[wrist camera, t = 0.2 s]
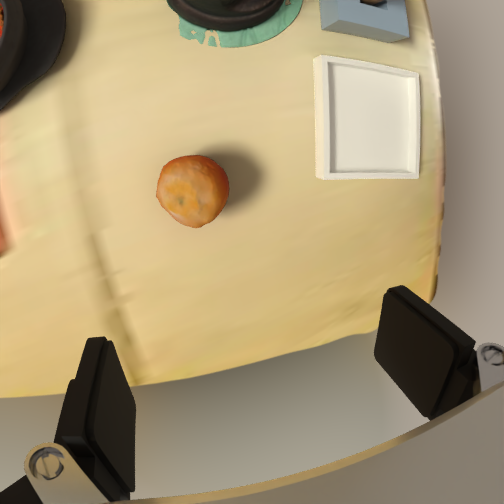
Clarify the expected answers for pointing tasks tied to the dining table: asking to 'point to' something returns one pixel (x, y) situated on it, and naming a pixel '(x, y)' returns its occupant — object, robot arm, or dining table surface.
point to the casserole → (28, 42)
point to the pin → (370, 2)
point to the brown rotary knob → (234, 19)
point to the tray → (365, 120)
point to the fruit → (193, 190)
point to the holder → (366, 19)
